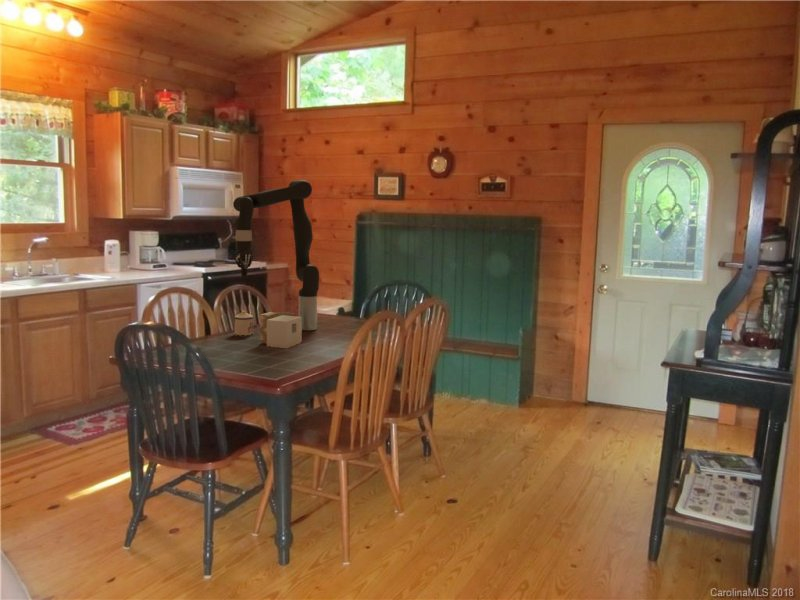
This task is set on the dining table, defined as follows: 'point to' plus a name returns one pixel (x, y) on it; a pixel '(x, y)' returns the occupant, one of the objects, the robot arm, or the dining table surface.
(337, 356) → the dining table surface
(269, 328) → the cardboard box
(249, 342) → the dining table surface
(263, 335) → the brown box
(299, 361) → the dining table surface
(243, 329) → the teacup with lid
